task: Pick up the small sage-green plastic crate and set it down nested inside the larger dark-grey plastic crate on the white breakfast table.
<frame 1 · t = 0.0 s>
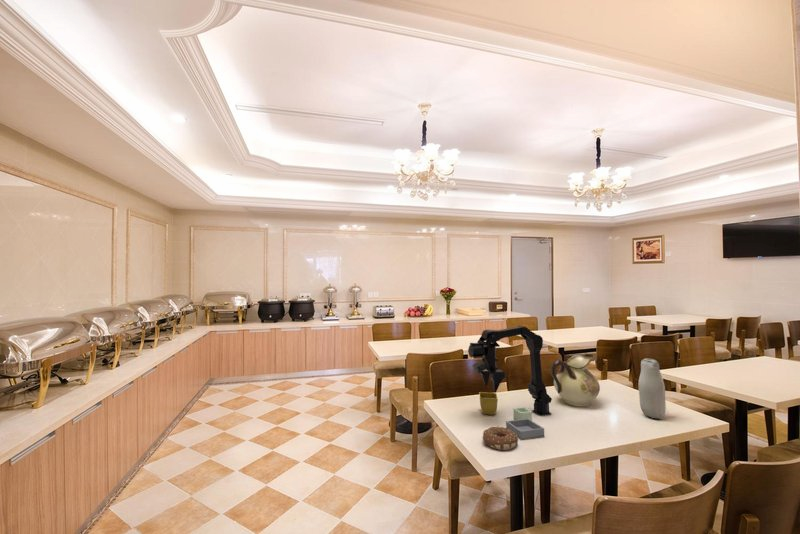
hand: (490, 388, 166), 15 cm above the table, fingers open, 9 cm apart
big crate: (524, 432, 150), on the table
flower pot: (488, 413, 173), on the table
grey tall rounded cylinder: (652, 417, 165), on the table
small crate: (522, 420, 163), on the table
pitcher: (576, 403, 186), on the table
donut: (499, 444, 140), on the table
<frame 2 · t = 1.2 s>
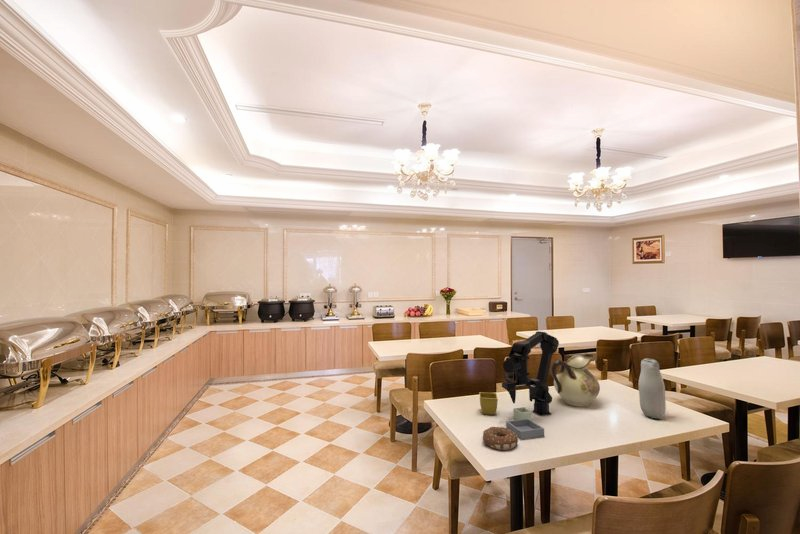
hand: (522, 402, 163), 9 cm above the table, fingers open, 9 cm apart
nothing on the table moved.
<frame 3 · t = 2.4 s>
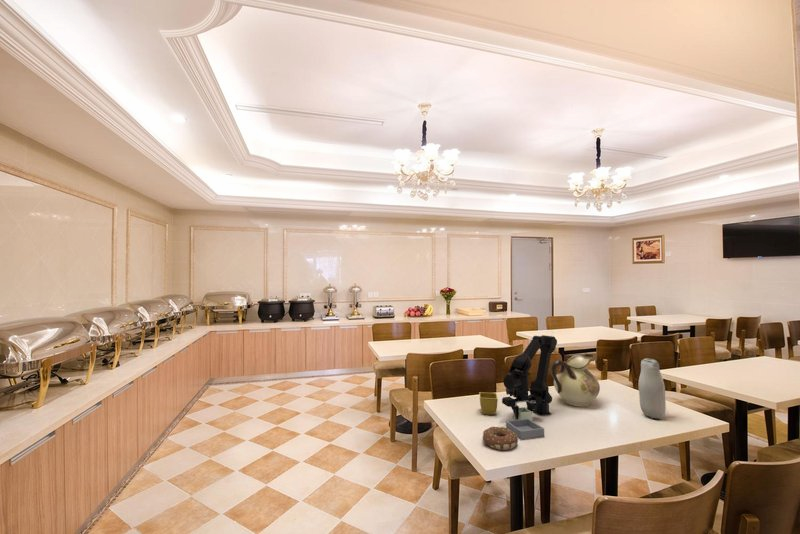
hand: (522, 418, 163), 1 cm above the table, fingers closed on small crate, 6 cm apart
small crate: (522, 420, 163), on the table, touching gripper
everything else where it was.
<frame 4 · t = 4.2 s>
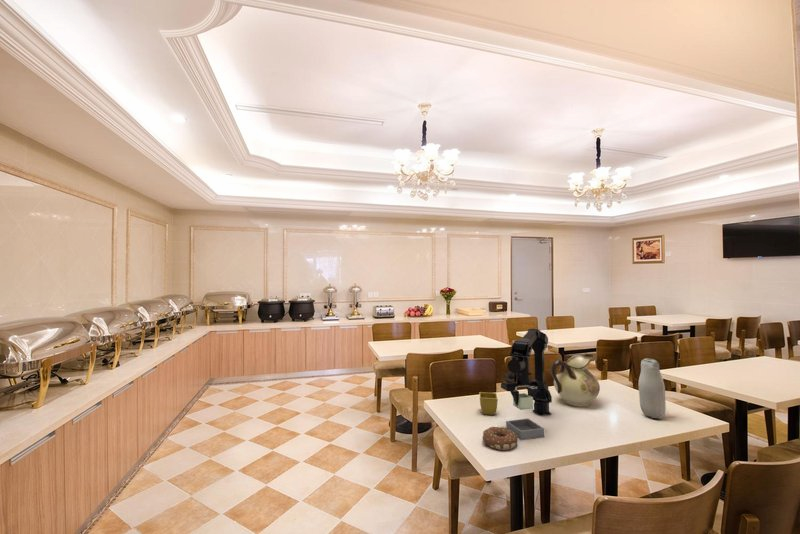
hand: (523, 404, 152), 12 cm above the table, fingers closed on small crate, 6 cm apart
small crate: (523, 407, 152), point 11 cm above the table, touching gripper
everything else where it was.
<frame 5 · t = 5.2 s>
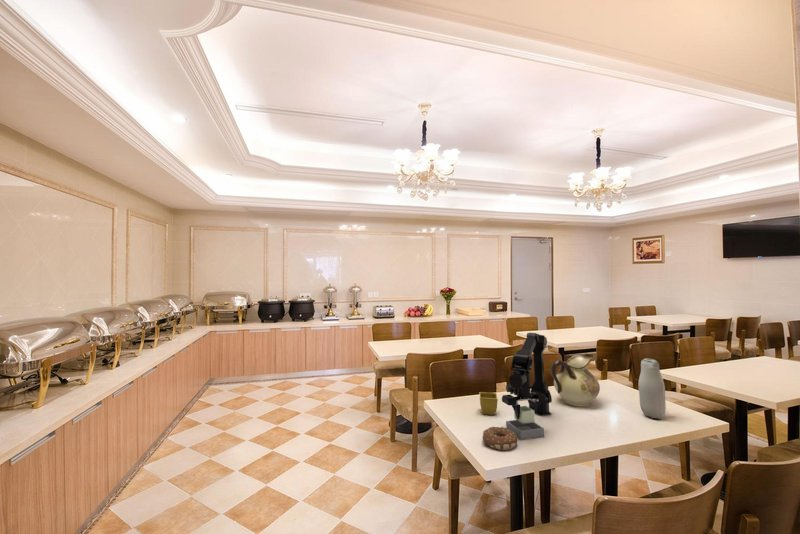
hand: (524, 418, 150), 6 cm above the table, fingers closed on small crate, 6 cm apart
small crate: (524, 420, 150), point 5 cm above the table, touching gripper
everything else where it was.
when the fingers open (4 cm above the table, at t = 6.1 s): small crate drops 2 cm, resting on big crate.
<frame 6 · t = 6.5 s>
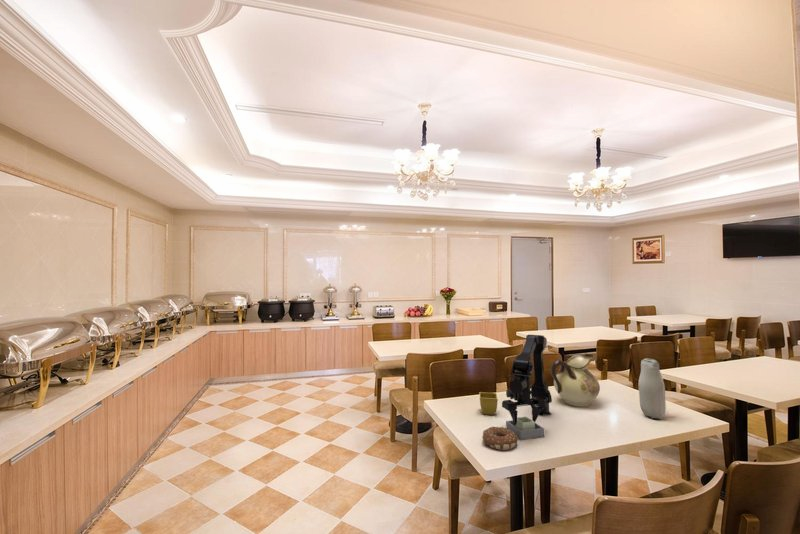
hand: (524, 423, 150), 4 cm above the table, fingers open, 9 cm apart
small crate: (524, 431, 150), point 1 cm above the table, touching big crate
everything else where it was.
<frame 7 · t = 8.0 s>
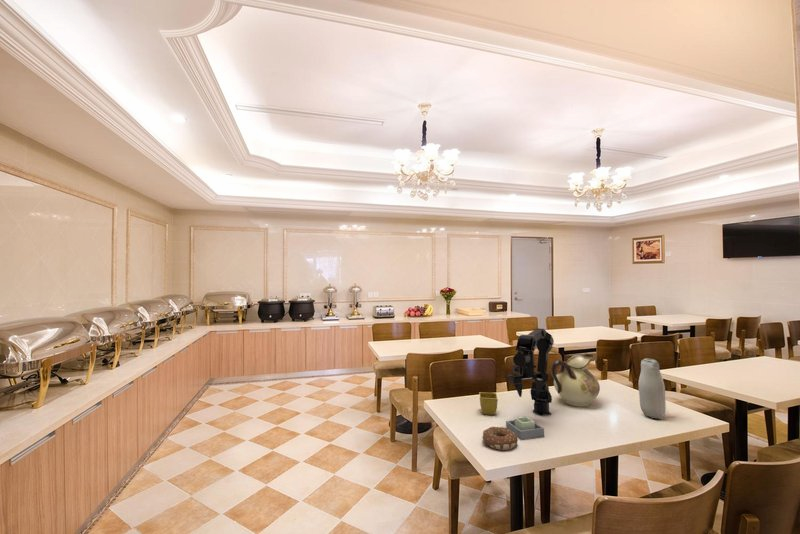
hand: (528, 395, 160), 13 cm above the table, fingers open, 9 cm apart
nothing on the table moved.
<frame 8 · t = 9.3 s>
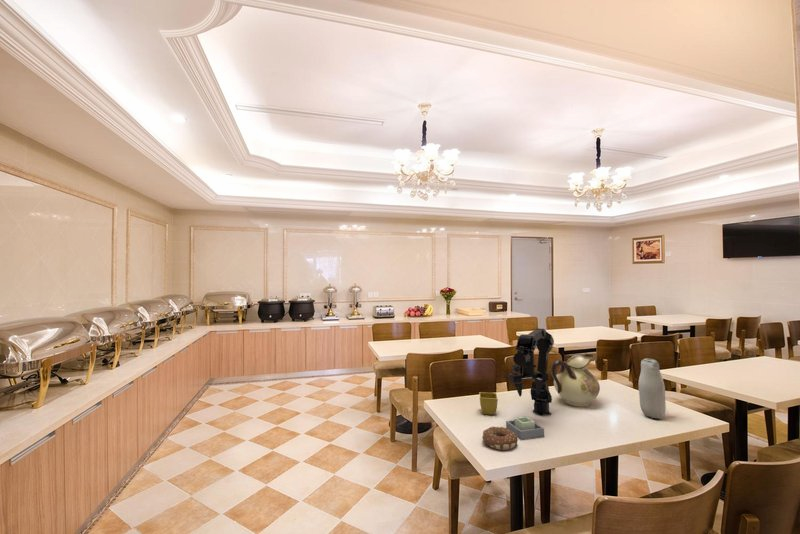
hand: (528, 395, 160), 13 cm above the table, fingers open, 9 cm apart
nothing on the table moved.
at the end: small crate 0.1 cm off-centre on the big crate, point 0.6 cm above the big crate's base; small crate tilted 0°; the gripper is holding nothing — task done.
